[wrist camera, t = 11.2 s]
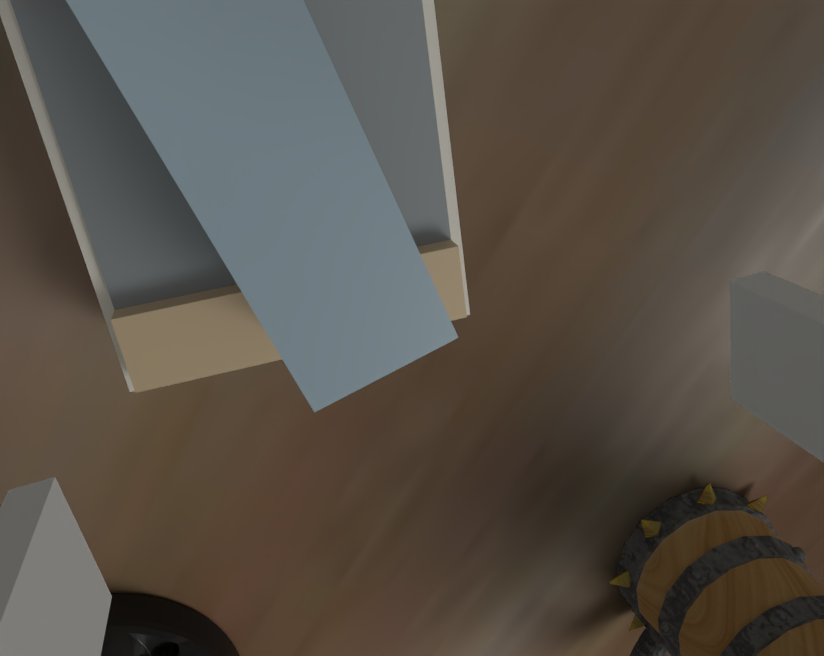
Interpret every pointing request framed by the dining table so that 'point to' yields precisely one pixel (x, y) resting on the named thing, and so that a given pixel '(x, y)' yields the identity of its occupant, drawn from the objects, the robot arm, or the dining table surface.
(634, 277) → the dining table surface
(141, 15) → the blue-gray rectangular block
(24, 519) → the robot arm
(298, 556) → the dining table surface
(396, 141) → the stand
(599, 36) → the dining table surface
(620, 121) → the dining table surface
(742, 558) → the mug
